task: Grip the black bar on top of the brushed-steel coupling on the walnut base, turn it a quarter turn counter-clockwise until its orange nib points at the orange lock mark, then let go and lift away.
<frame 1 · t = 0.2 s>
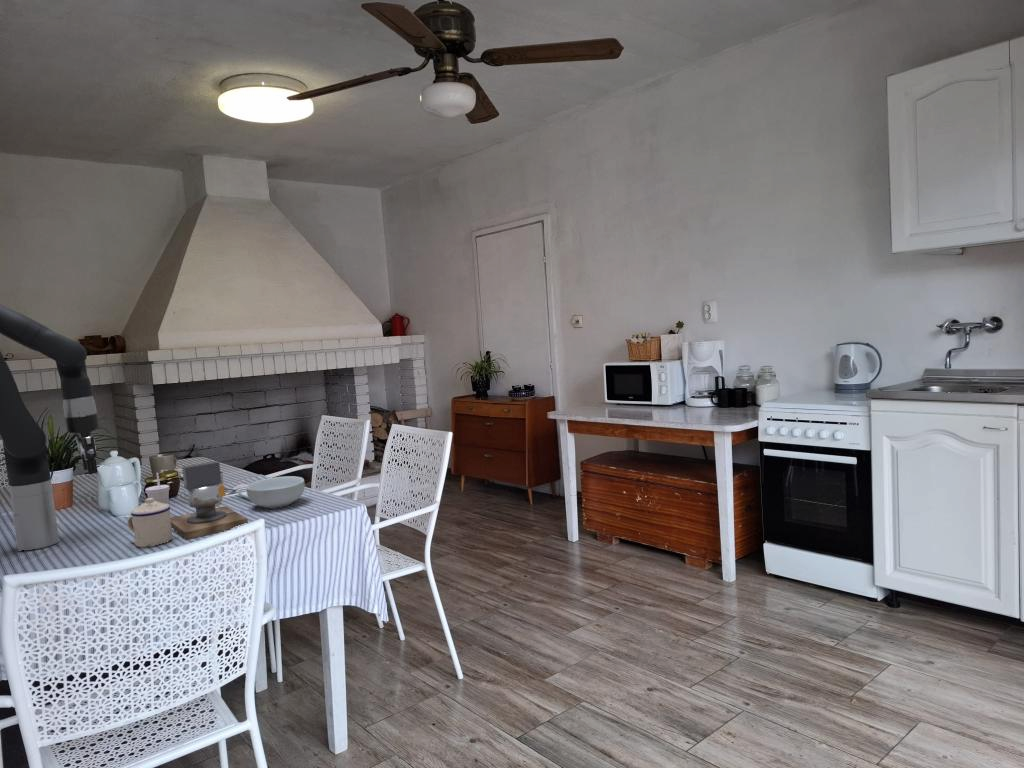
hand: (90, 471, 192), 18 cm above the table, tool pointing down, fingers open, 8 cm apart
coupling: (204, 483, 193), point 12 cm above the table, hinge at 0.0°
lock base: (207, 525, 194), on the table
smoothie: (161, 520, 204), on the table
cereal bowl: (277, 505, 212), on the table
teacup with lid: (150, 542, 182), on the table
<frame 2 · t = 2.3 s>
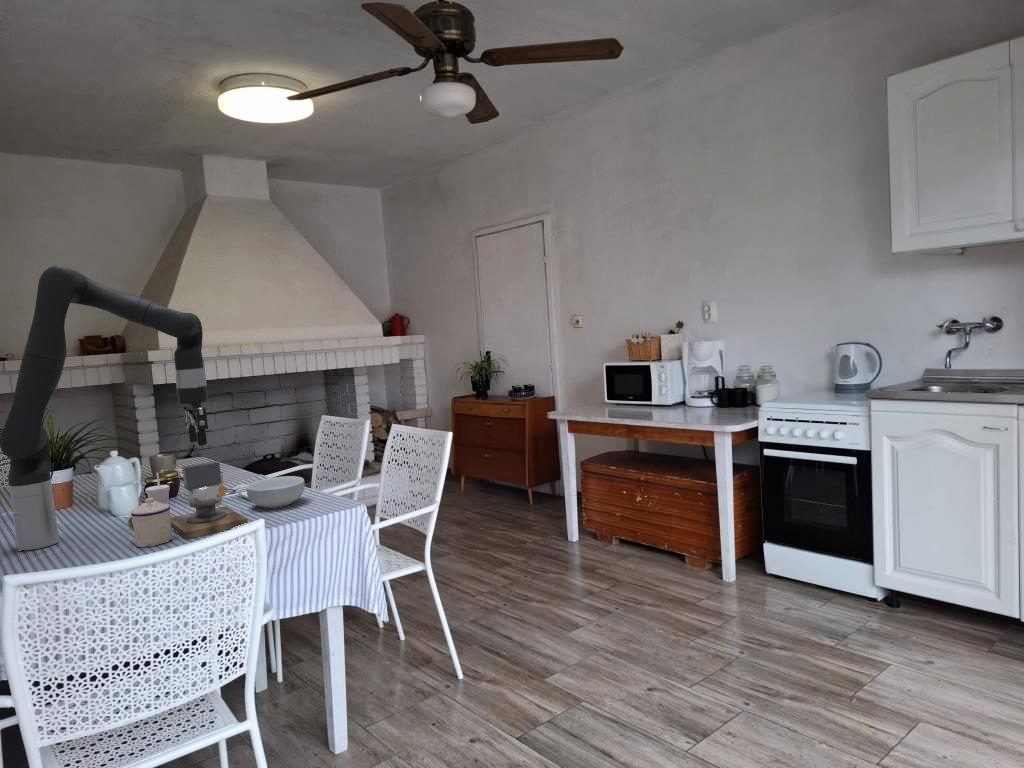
hand: (198, 443, 192), 23 cm above the table, tool pointing down, fingers open, 8 cm apart
nothing on the table moved.
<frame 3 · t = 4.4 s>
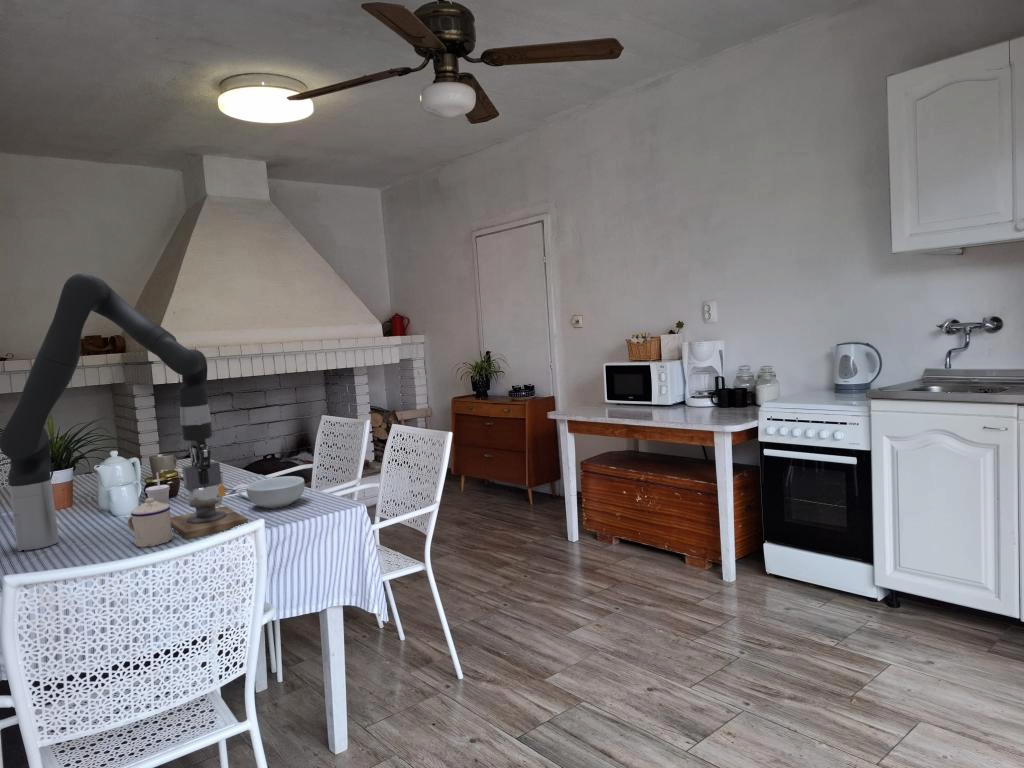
hand: (202, 482, 193), 12 cm above the table, tool pointing down, fingers closed on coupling, 3 cm apart
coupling: (204, 483, 193), point 12 cm above the table, hinge at 0.0°, touching gripper
everything else where it was.
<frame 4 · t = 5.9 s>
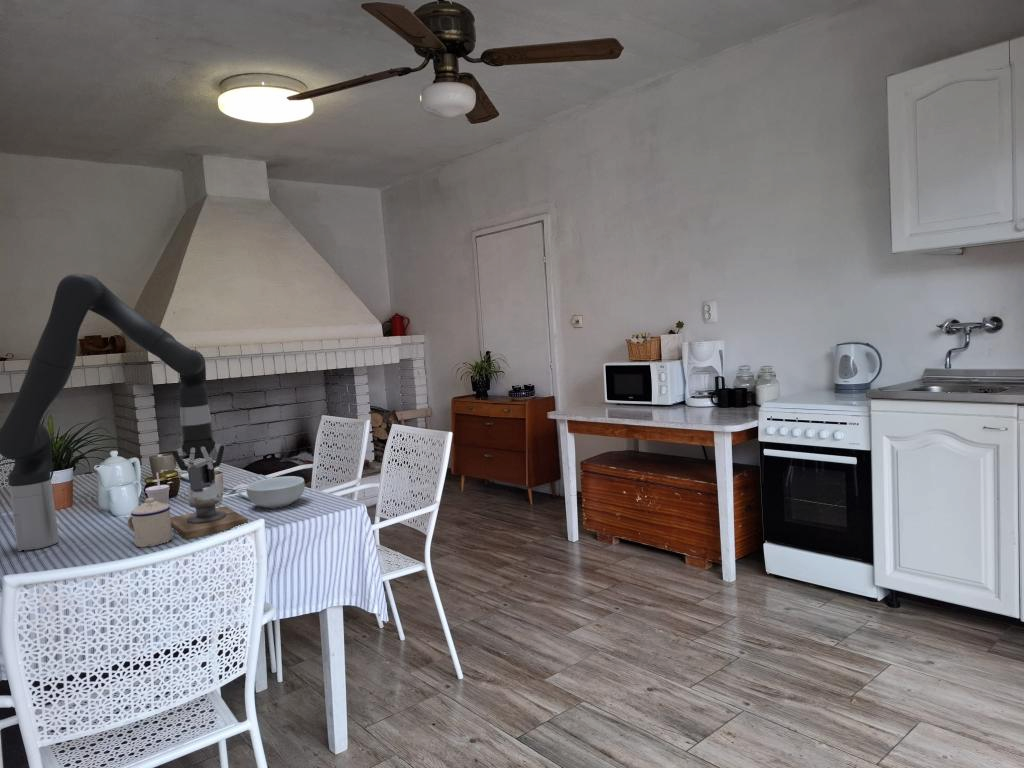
hand: (202, 482, 193), 12 cm above the table, tool pointing down, fingers closed on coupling, 3 cm apart
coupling: (203, 483, 193), point 12 cm above the table, hinge at 53.1°, touching gripper
everything else where it was.
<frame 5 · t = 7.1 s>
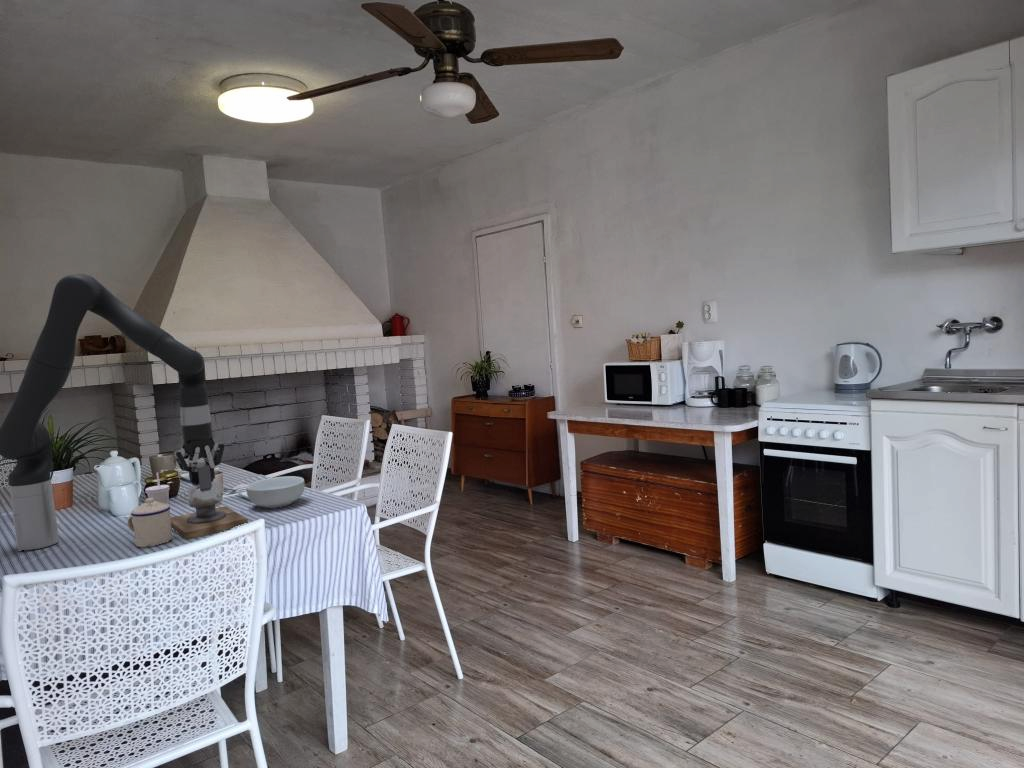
hand: (203, 482, 193), 12 cm above the table, tool pointing down, fingers closed on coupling, 3 cm apart
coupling: (202, 483, 193), point 12 cm above the table, hinge at 85.2°, touching gripper
everything else where it was.
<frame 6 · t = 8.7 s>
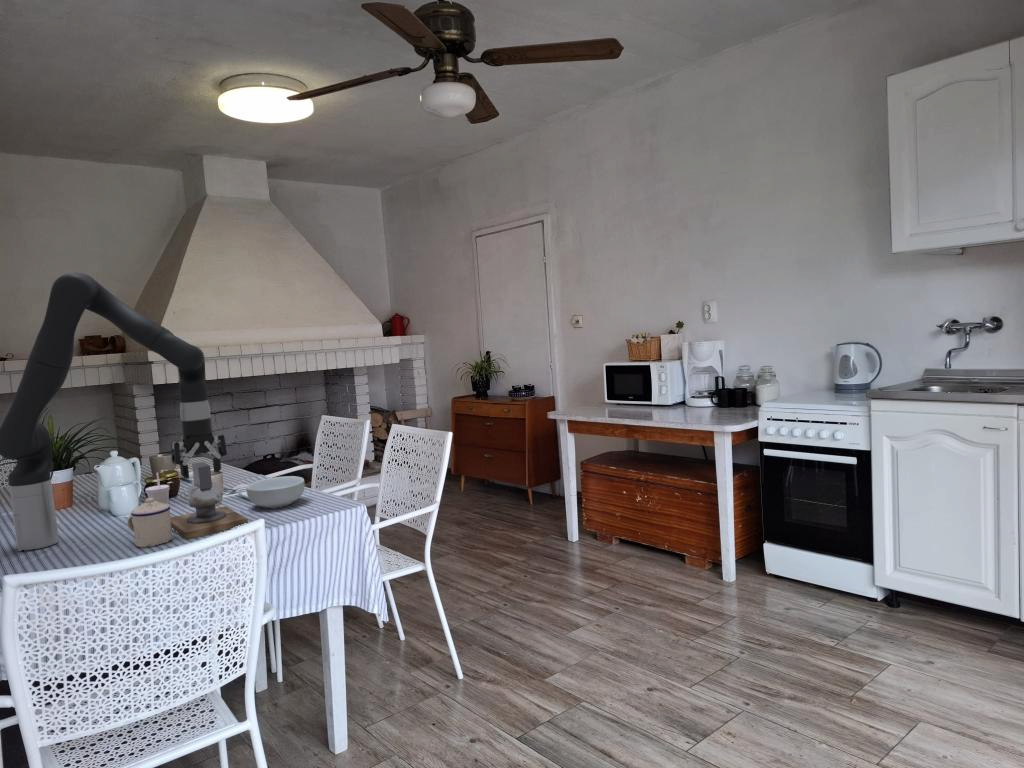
hand: (201, 475, 193), 14 cm above the table, tool pointing down, fingers open, 8 cm apart
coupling: (202, 483, 193), point 12 cm above the table, hinge at 86.0°
everything else where it was.
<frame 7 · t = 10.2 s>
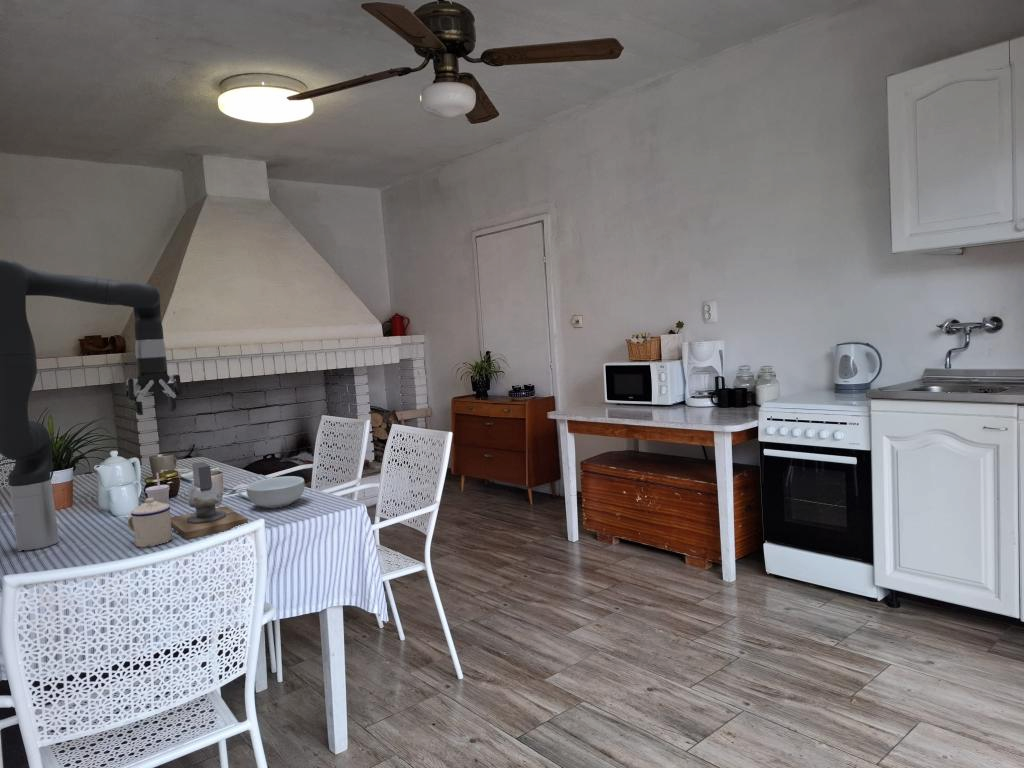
hand: (156, 413, 196), 32 cm above the table, tool pointing down, fingers open, 8 cm apart
nothing on the table moved.
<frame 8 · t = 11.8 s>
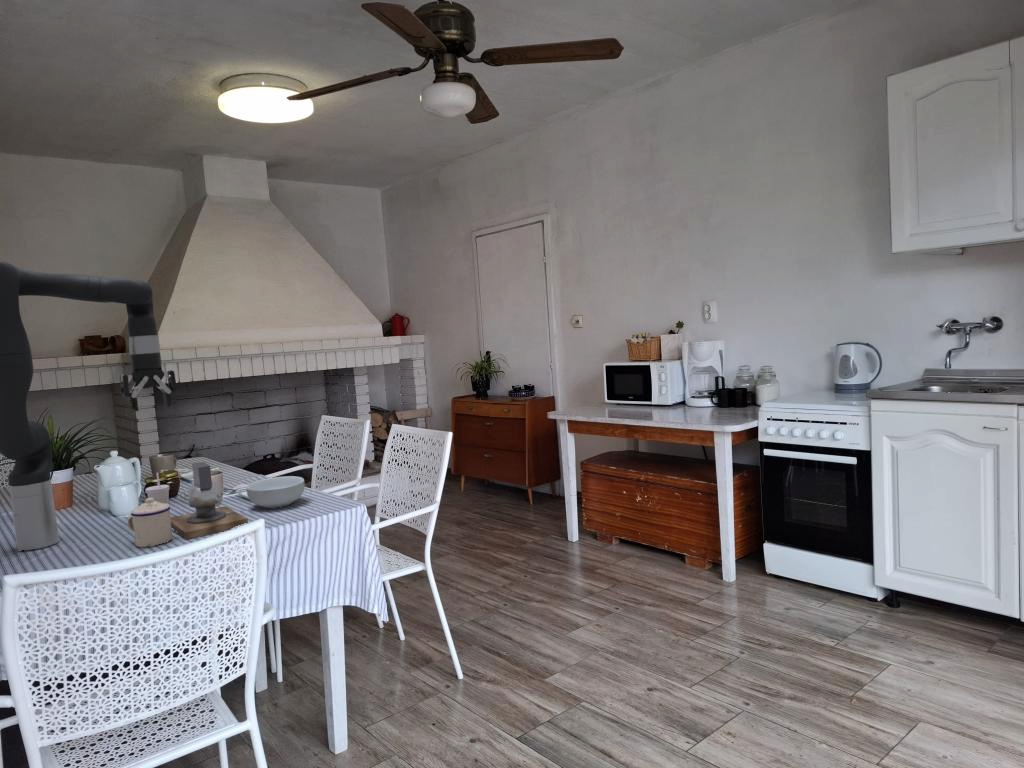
hand: (151, 409, 197), 33 cm above the table, tool pointing down, fingers open, 8 cm apart
nothing on the table moved.
at the end: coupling at +86° (first picture: +0°); the gripper is holding nothing; teacup with lid moved 0.2 cm from its start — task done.
